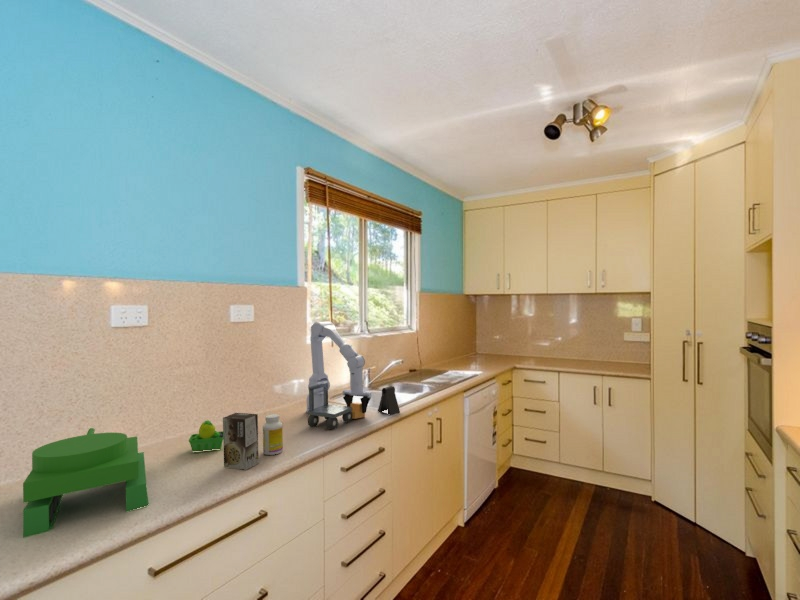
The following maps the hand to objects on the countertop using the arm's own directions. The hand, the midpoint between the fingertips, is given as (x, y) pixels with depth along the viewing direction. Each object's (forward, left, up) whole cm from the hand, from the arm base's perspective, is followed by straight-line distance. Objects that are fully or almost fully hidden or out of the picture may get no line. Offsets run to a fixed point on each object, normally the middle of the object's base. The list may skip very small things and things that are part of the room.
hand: (357, 411), depth 184 cm
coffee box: (-4, -62, -3) cm, 62 cm away
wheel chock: (0, -2, -2) cm, 2 cm away
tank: (-25, -94, -3) cm, 97 cm away
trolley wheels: (-5, -13, -3) cm, 14 cm away
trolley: (-5, -13, +2) cm, 14 cm away
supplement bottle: (-3, -49, -3) cm, 49 cm away
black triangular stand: (+9, +14, -3) cm, 17 cm away
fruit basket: (-27, -57, -3) cm, 63 cm away
